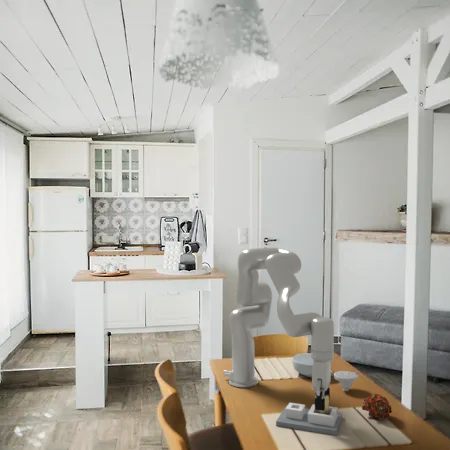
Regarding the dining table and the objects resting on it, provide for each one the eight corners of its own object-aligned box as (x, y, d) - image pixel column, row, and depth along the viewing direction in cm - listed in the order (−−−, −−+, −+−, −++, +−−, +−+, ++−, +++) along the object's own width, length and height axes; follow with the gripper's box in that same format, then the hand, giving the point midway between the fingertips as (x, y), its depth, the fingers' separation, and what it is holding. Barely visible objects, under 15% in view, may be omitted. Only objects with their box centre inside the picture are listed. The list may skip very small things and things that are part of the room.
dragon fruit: (388, 429, 160) (365, 420, 171) (402, 411, 163) (380, 403, 174) (373, 411, 159) (352, 403, 170) (388, 392, 162) (367, 385, 173)
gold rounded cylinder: (315, 420, 161) (315, 397, 160) (318, 416, 164) (318, 393, 164) (327, 422, 159) (327, 398, 159) (329, 417, 163) (329, 394, 163)
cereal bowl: (285, 376, 209) (285, 360, 209) (302, 366, 223) (302, 351, 223) (321, 383, 200) (321, 367, 200) (336, 372, 213) (336, 356, 213)
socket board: (276, 425, 161) (276, 412, 160) (286, 409, 174) (286, 397, 174) (336, 435, 153) (336, 421, 153) (342, 417, 166) (342, 404, 166)
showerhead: (362, 375, 188) (338, 376, 187) (363, 393, 188) (338, 395, 187) (354, 367, 197) (330, 368, 196) (354, 385, 197) (330, 386, 196)
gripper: (316, 346, 171) (316, 393, 171) (306, 360, 155) (306, 412, 155) (337, 348, 168) (337, 396, 168) (329, 363, 152) (329, 416, 152)
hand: (322, 404), depth 162 cm, fingers open, 9 cm apart
